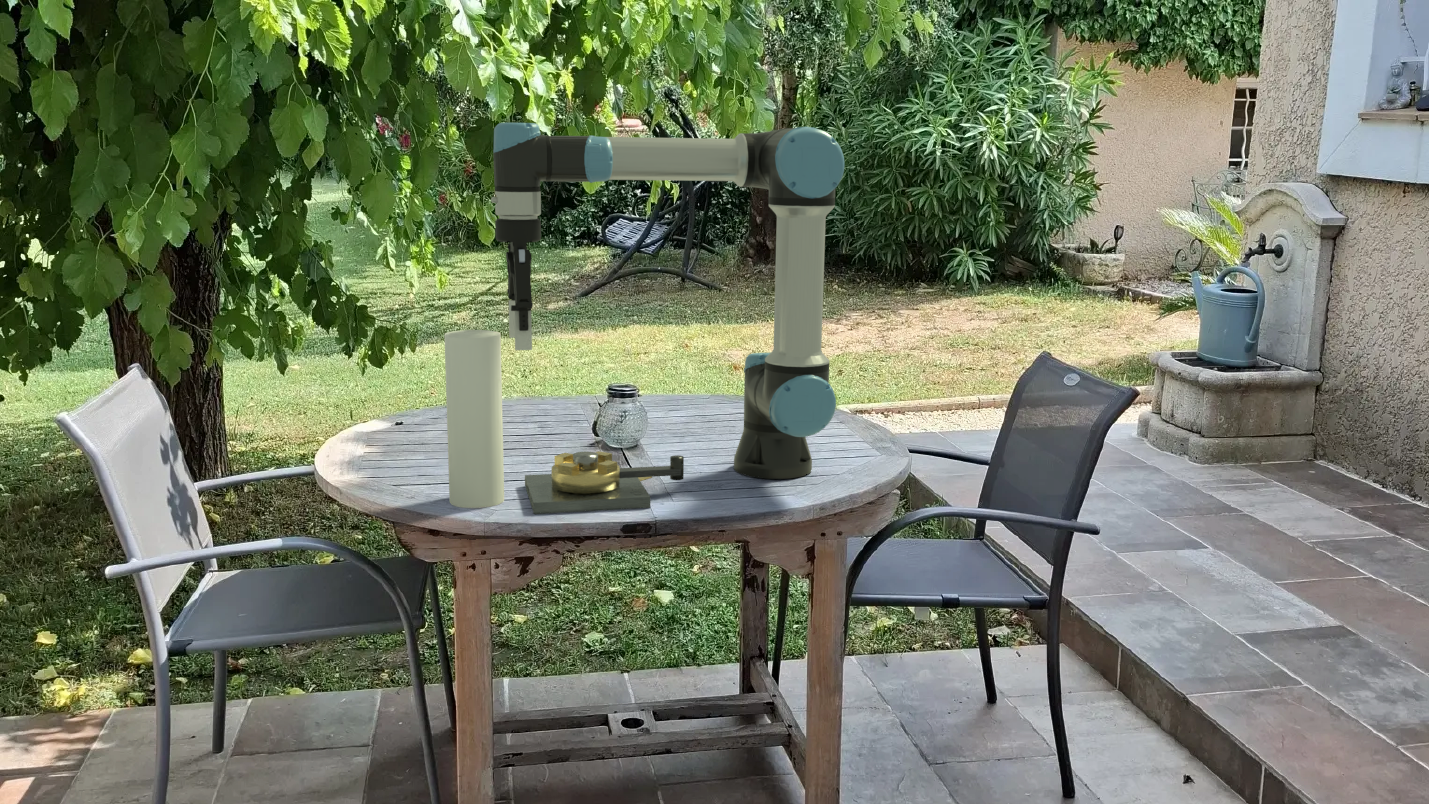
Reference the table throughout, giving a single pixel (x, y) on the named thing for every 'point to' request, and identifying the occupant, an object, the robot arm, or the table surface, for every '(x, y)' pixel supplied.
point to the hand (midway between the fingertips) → (520, 343)
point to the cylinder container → (474, 418)
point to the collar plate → (584, 496)
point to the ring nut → (603, 472)
